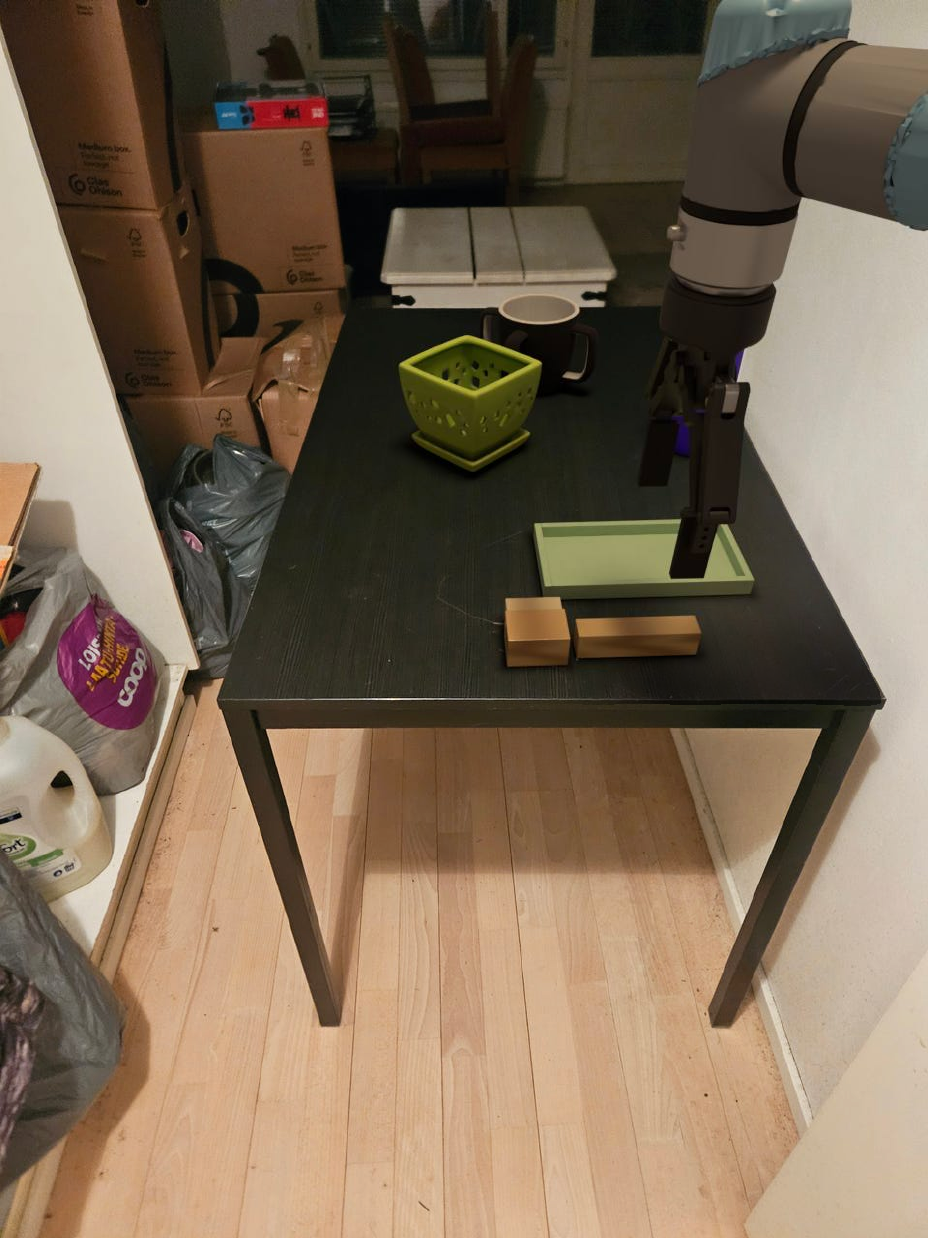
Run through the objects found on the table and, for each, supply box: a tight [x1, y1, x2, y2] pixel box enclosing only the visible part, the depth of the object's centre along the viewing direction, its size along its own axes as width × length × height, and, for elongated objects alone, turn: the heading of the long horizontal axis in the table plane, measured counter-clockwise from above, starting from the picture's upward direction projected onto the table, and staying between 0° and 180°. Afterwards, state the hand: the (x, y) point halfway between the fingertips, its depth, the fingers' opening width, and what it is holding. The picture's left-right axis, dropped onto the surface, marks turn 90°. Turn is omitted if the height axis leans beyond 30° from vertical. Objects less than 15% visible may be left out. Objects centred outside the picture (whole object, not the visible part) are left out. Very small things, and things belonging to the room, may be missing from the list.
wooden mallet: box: [503, 596, 702, 668], centre depth 77 cm, size 19×7×4 cm, turn 92°
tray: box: [533, 518, 755, 601], centre depth 87 cm, size 23×12×2 cm, turn 92°
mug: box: [479, 293, 600, 395], centre depth 118 cm, size 16×16×12 cm
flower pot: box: [398, 334, 542, 473], centre depth 103 cm, size 14×14×13 cm
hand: (667, 527), depth 67 cm, fingers open, 13 cm apart
